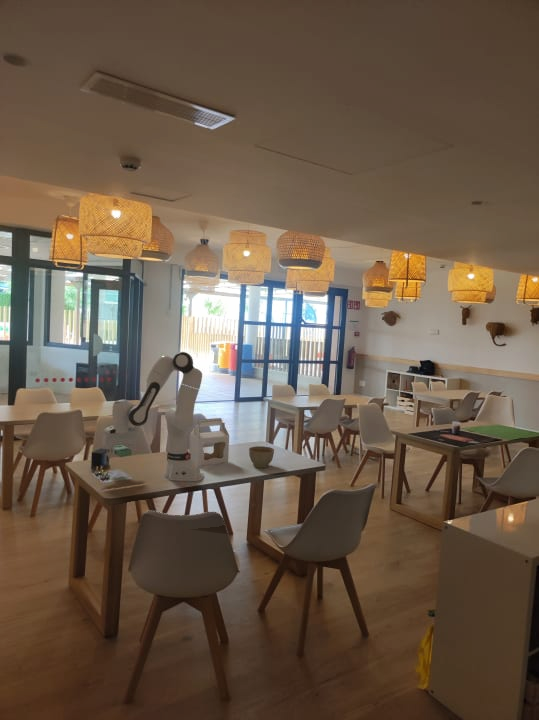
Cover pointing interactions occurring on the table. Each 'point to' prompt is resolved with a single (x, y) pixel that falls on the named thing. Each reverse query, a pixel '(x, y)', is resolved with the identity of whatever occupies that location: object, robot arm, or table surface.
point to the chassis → (110, 475)
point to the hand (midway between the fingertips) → (121, 452)
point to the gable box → (209, 437)
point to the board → (121, 451)
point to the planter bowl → (261, 456)
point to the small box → (100, 458)
